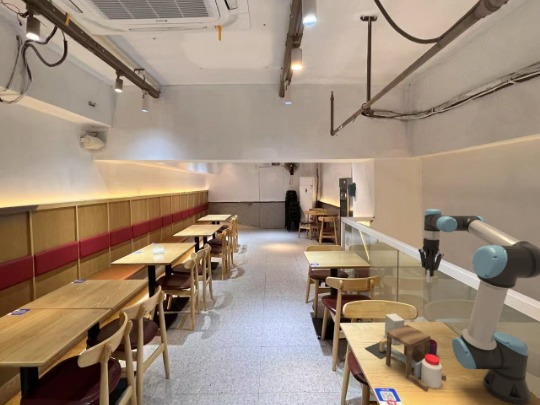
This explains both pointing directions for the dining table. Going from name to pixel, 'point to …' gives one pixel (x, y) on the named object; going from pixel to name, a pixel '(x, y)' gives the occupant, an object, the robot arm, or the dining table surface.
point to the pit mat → (376, 350)
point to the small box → (393, 325)
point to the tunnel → (410, 349)
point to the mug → (433, 347)
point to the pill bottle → (431, 371)
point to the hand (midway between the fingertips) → (429, 281)
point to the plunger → (402, 358)
